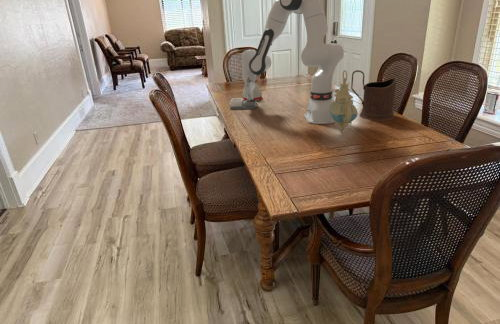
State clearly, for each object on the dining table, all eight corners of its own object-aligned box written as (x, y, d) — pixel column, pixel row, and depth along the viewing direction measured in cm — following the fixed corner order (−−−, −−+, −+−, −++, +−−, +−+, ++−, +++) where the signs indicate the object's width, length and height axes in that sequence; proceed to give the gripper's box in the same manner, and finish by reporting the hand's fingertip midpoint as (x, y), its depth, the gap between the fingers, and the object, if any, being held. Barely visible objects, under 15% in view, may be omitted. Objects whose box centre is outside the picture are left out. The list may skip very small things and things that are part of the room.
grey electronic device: (254, 109, 216) (254, 101, 214) (230, 109, 218) (229, 102, 217) (257, 104, 227) (257, 97, 225) (233, 104, 229) (233, 97, 227)
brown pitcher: (397, 121, 181) (403, 72, 171) (350, 120, 186) (353, 73, 176) (391, 111, 198) (396, 66, 188) (348, 111, 203) (351, 67, 192)
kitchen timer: (261, 100, 236) (261, 78, 230) (242, 101, 237) (240, 79, 231) (261, 95, 249) (261, 74, 243) (242, 96, 250) (241, 75, 244)
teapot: (323, 125, 180) (326, 67, 167) (345, 124, 180) (349, 65, 168) (336, 141, 158) (339, 75, 145) (360, 140, 158) (366, 74, 146)
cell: (253, 103, 219) (252, 90, 215) (247, 104, 219) (246, 90, 216) (254, 102, 222) (253, 89, 219) (248, 102, 223) (247, 89, 220)
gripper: (252, 79, 204) (253, 102, 210) (256, 73, 223) (257, 94, 228) (241, 79, 205) (242, 102, 211) (247, 73, 224) (248, 94, 229)
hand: (250, 98), depth 220 cm, fingers closed on cell, 4 cm apart
